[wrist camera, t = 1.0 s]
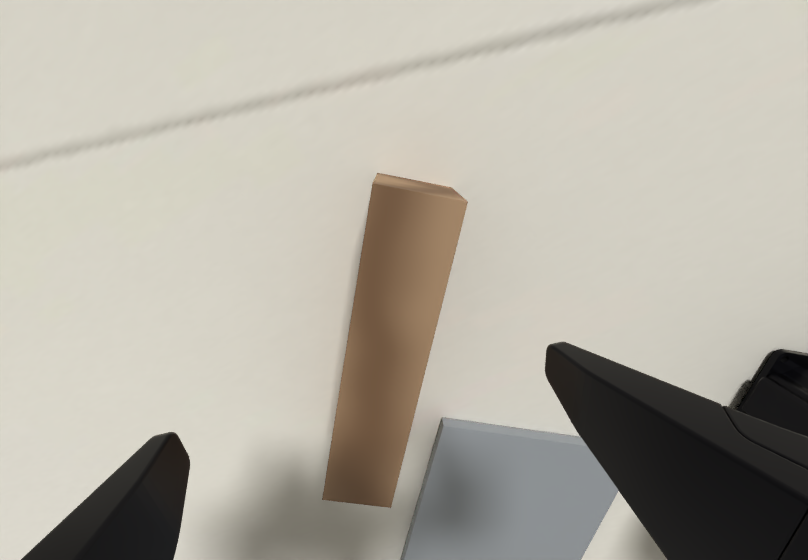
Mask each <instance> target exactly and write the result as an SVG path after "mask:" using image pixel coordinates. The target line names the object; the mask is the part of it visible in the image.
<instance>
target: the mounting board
mask: <svg viewBox="0 0 808 560" xmlns="http://www.w3.org/2000/svg"><path fill="white" fill-rule="evenodd" d="M618 491H619V490H618V489H617V487H616V486H615V485H614V483H613V482H612V480H611V479H610V477H609V476H608V475H607V473H606V472H605V470H604V469H603V468H602V466H601V465H600V463H599V462H598V461H597V459H596V458H595V456H594V455H593V453H592V452H591V451H590V449H589V448H588V446H587V445H586V444H585V442H584V441H583V439H582V438H581V437H576V436H569V435H562V434H555V433H548V432H541V431H534V430H527V429H520V428H513V427H506V426H499V425H492V424H485V423H478V422H471V421H464V420H457V419H449V418H442V420H441V423H440V427H439V430H438V434H437V437H436V440H435V444H434V447H433V451H432V454H431V458H430V461H429V465H428V468H427V471H426V475H425V478H424V482H423V485H422V489H421V492H420V495H419V499H418V502H417V506H416V509H415V513H414V516H413V520H412V523H411V526H410V530H409V533H408V537H407V540H406V544H405V547H404V551H403V554H402V557H401V560H581V559H582V557H583V555H584V553H585V551H586V549H587V548H588V546H589V544H590V542H591V540H592V538H593V537H594V535H595V533H596V531H597V529H598V527H599V526H600V524H601V522H602V520H603V518H604V516H605V515H606V513H607V511H608V509H609V507H610V505H611V504H612V502H613V500H614V498H615V496H616V494H617V493H618Z"/></svg>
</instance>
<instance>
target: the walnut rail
mask: <svg viewBox="0 0 808 560" xmlns="http://www.w3.org/2000/svg"><path fill="white" fill-rule="evenodd" d="M467 203H468V202H467V201H466V200H465V199H464V198H463V197H462V196H461V195H459V194H458V193H457V192H456V191H455V190H454V189H453V188H451V187H446V186H441V185H436V184H431V183H426V182H421V181H416V180H411V179H406V178H401V177H396V176H391V175H385V174H380V173H377V175H376V177H375V179H374V182H373V184H372V190H371V197H370V203H369V209H368V216H367V222H366V228H365V234H364V241H363V247H362V253H361V259H360V266H359V272H358V278H357V285H356V291H355V297H354V303H353V310H352V316H351V322H350V329H349V335H348V341H347V347H346V354H345V360H344V366H343V373H342V379H341V385H340V391H339V398H338V404H337V410H336V417H335V423H334V429H333V435H332V442H331V448H330V454H329V460H328V467H327V473H326V479H325V486H324V492H323V498H322V500H329V501H338V502H347V503H355V504H364V505H372V506H381V507H390V508H391V505H392V501H393V497H394V493H395V489H396V485H397V481H398V477H399V473H400V469H401V465H402V461H403V457H404V454H405V450H406V446H407V442H408V438H409V434H410V430H411V426H412V422H413V418H414V414H415V410H416V406H417V402H418V398H419V394H420V390H421V386H422V382H423V378H424V374H425V370H426V366H427V362H428V358H429V354H430V350H431V346H432V342H433V338H434V334H435V330H436V326H437V322H438V318H439V314H440V310H441V306H442V302H443V298H444V294H445V290H446V286H447V282H448V278H449V274H450V270H451V266H452V263H453V259H454V255H455V251H456V247H457V243H458V239H459V235H460V231H461V227H462V223H463V219H464V215H465V211H466V207H467Z"/></svg>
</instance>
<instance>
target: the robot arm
mask: <svg viewBox="0 0 808 560" xmlns="http://www.w3.org/2000/svg"><path fill="white" fill-rule="evenodd" d="M545 373H546V377H547V379H548V381H549V383H550V385H551V386H552V388H553V390H554V392H555V394H556V395H557V397H558V399H559V401H560V402H561V404H562V406H563V408H564V410H565V411H566V413H567V415H568V417H569V418H570V420H571V422H572V424H573V425H574V427H575V429H576V430H577V432H578V433H579V435H580V436H581V438H582V439H583V441H584V442H585V444H586V445H587V446H588V448H589V449H590V451H591V452H592V453H593V455H594V456H595V458H596V459H597V461H598V462H599V463H600V465H601V466H602V468H603V469H604V470H605V472H606V473H607V475H608V476H609V477H610V479H611V480H612V482H613V483H614V485H615V486H616V487H617V489H618V490H619V492H620V493H621V494H622V496H623V497H624V499H625V500H626V502H627V503H628V504H629V506H630V507H631V509H632V510H633V511H634V513H635V514H636V516H637V517H638V518H639V520H640V521H641V523H642V524H643V526H644V527H645V528H646V530H647V531H648V533H649V534H650V535H651V537H652V538H653V540H654V541H655V543H656V544H657V545H658V547H659V548H660V550H661V551H662V552H663V554H664V555H665V557H666V558H667V560H808V354H807V353H802V352H796V351H790V350H784V349H779V350H776V351H775V352H774V353H773V354H772V355H771V357H770V358H769V360H768V361H767V363H766V364H765V366H764V368H763V369H762V371H761V372H760V374H759V375H758V377H757V379H756V380H755V382H754V383H753V385H752V387H751V388H750V390H749V391H748V393H747V394H746V396H745V398H744V399H743V401H742V402H741V404H740V406H739V407H738V409H737V410H734V409H732V408H729V407H727V406H722V405H721V404H719V403H717V402H714V401H712V400H709V399H707V398H704V397H702V396H699V395H697V394H694V393H692V392H689V391H687V390H684V389H682V388H679V387H677V386H674V385H672V384H669V383H667V382H664V381H662V380H659V379H657V378H654V377H651V376H649V375H646V374H644V373H641V372H639V371H636V370H634V369H631V368H629V367H626V366H624V365H621V364H619V363H616V362H614V361H611V360H609V359H606V358H604V357H601V356H599V355H596V354H594V353H591V352H589V351H586V350H584V349H581V348H579V347H576V346H574V345H571V344H569V343H566V342H558V343H554V344H550V345H549V346H548V347H547V350H546V363H545ZM189 470H190V459H189V456H188V454H187V452H186V450H185V448H184V446H183V444H182V442H181V441H180V439H179V437H178V435H177V434H176V433H174V432H168V433H164V434H160V435H156V436H154V437H152V438H151V439H150V440H148V441H147V442H146V443H145V444H144V445H143V446H142V447H141V448H140V449H139V450H138V451H137V452H136V453H135V454H133V455H132V456H131V457H130V458H129V459H128V460H127V461H126V462H125V463H124V464H123V465H122V466H121V467H120V468H118V469H117V470H116V471H115V472H114V473H113V474H112V475H111V476H110V477H109V478H108V479H107V480H106V481H105V482H104V483H102V484H101V485H100V486H99V487H98V488H97V489H96V490H95V491H94V492H93V493H92V494H91V495H90V496H89V497H87V498H86V499H85V500H84V501H83V502H82V503H81V504H80V505H79V506H78V507H77V508H76V509H75V510H74V511H72V512H71V513H70V514H69V515H68V516H67V517H66V518H65V519H64V520H63V521H62V522H61V523H60V524H59V525H57V526H56V527H55V528H54V529H53V530H52V531H51V532H50V533H49V534H48V535H47V536H46V537H45V538H44V539H42V540H41V541H40V542H39V543H38V544H37V545H36V546H35V547H34V548H33V549H32V550H31V551H30V552H29V553H27V554H26V555H25V556H24V557H23V558H22V559H21V560H173V559H174V555H175V551H176V547H177V543H178V538H179V533H180V527H181V521H182V515H183V508H184V502H185V495H186V489H187V482H188V476H189Z"/></svg>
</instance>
